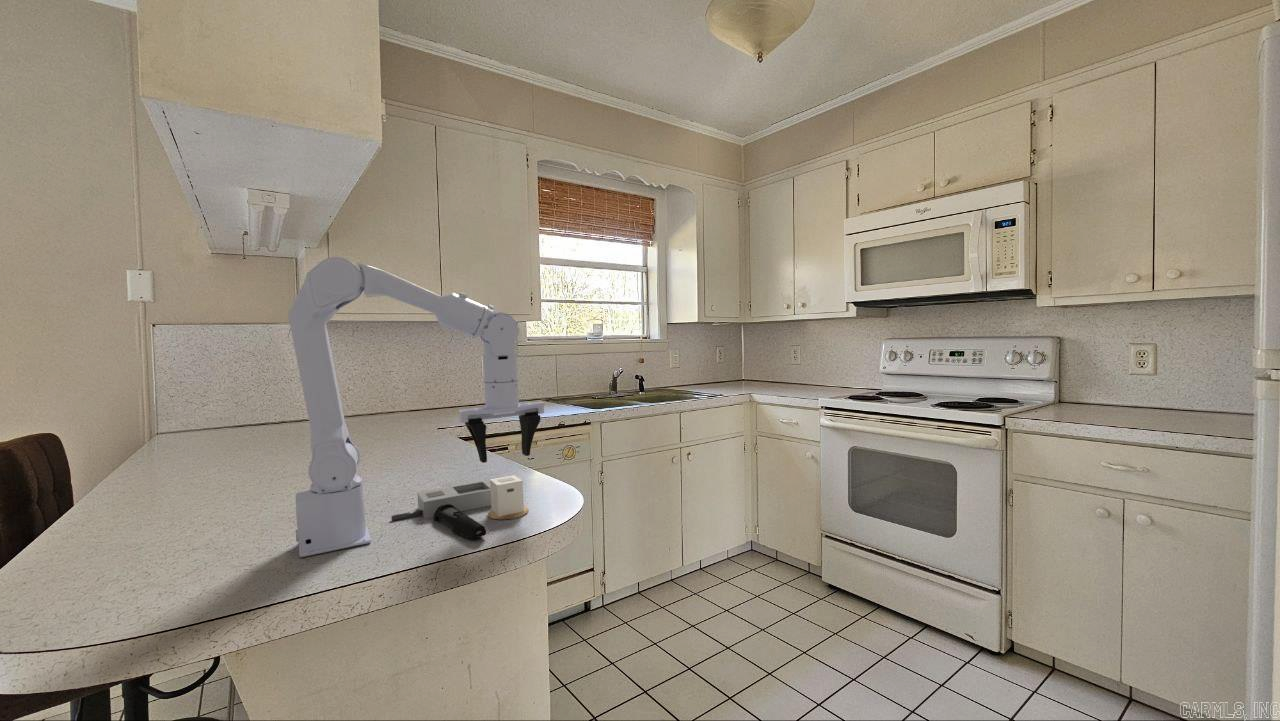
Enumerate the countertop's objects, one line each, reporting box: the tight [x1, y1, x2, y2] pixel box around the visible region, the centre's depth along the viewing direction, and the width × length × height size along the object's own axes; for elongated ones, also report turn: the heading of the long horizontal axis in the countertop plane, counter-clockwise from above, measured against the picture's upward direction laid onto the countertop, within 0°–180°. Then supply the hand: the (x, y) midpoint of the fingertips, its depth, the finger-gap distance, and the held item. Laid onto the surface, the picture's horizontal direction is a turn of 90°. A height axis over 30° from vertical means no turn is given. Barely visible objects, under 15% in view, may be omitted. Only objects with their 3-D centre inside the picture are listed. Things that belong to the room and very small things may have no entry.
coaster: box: [487, 504, 529, 521], centre depth 96 cm, size 7×7×1 cm
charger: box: [489, 474, 525, 516], centre depth 96 cm, size 4×5×6 cm
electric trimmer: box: [433, 504, 487, 540], centre depth 89 cm, size 4×16×3 cm, turn 41°
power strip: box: [390, 477, 501, 522], centre depth 101 cm, size 21×7×4 cm, turn 121°
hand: (505, 458), depth 96 cm, fingers open, 7 cm apart
